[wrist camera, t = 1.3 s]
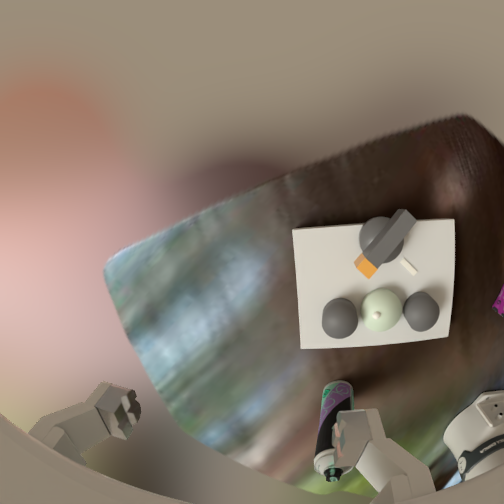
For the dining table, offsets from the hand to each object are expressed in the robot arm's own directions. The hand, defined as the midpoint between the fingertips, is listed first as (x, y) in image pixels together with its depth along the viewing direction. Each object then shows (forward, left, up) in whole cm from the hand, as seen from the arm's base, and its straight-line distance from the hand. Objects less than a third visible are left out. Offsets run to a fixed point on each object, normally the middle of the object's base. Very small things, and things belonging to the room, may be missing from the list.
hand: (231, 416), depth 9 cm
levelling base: (-11, +4, -34) cm, 36 cm away
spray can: (-5, +24, -34) cm, 42 cm away
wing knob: (-11, -3, -31) cm, 33 cm away
